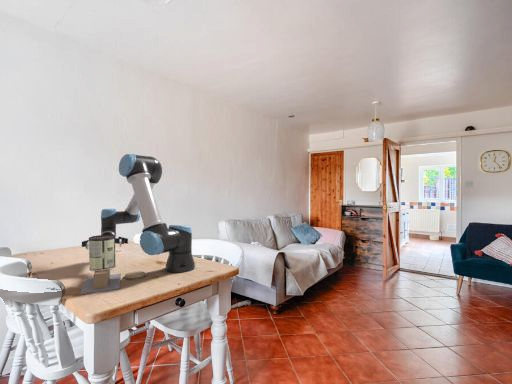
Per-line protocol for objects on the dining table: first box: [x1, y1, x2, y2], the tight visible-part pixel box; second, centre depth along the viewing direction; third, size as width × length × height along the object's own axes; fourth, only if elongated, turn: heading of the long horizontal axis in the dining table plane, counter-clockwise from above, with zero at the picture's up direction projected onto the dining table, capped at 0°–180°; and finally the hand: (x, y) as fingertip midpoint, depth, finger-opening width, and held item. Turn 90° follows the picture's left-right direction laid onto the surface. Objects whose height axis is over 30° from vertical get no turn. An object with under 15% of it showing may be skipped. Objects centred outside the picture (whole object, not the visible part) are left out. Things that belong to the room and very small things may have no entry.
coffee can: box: [88, 234, 117, 272], centre depth 119 cm, size 10×10×14 cm
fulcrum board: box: [79, 269, 122, 295], centre depth 119 cm, size 20×14×7 cm
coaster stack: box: [124, 270, 147, 281], centre depth 129 cm, size 9×9×2 cm
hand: (104, 245), depth 127 cm, fingers open, 13 cm apart
